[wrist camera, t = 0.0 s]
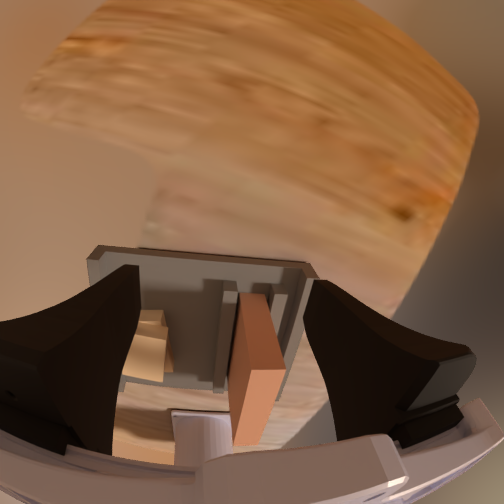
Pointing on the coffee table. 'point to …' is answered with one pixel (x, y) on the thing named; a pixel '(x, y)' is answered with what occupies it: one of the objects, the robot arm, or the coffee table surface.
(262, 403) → the panel
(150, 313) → the block
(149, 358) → the offcut top
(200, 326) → the rack
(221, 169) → the coffee table surface
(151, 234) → the coffee table surface
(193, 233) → the coffee table surface
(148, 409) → the coffee table surface
